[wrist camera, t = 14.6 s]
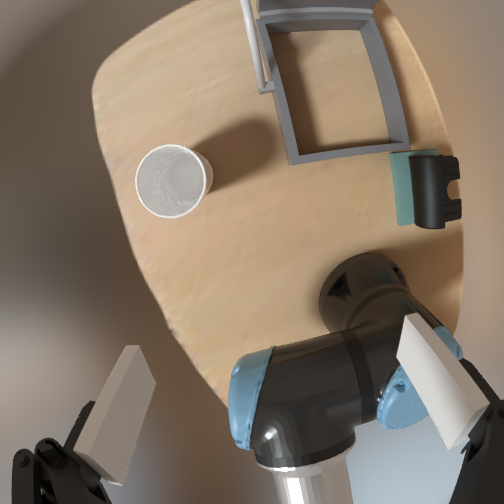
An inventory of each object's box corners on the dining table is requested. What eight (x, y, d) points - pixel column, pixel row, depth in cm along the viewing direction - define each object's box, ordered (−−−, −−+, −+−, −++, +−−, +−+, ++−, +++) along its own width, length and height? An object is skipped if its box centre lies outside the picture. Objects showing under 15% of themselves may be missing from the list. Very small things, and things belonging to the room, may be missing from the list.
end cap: (398, 155, 35) (423, 156, 28) (433, 152, 34) (460, 154, 28) (405, 221, 38) (428, 232, 31) (439, 214, 37) (464, 224, 31)
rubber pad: (439, 215, 38) (443, 216, 37) (397, 224, 39) (400, 225, 38) (434, 149, 35) (437, 149, 34) (389, 153, 35) (392, 153, 35)
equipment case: (397, 149, 35) (496, 152, 16) (274, 167, 36) (299, 174, 17) (360, 17, 28) (420, -49, 9) (239, 25, 30) (229, -66, 10)
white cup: (172, 210, 38) (147, 227, 29) (156, 158, 36) (127, 159, 26) (224, 194, 38) (215, 206, 28) (209, 140, 35) (194, 133, 26)
